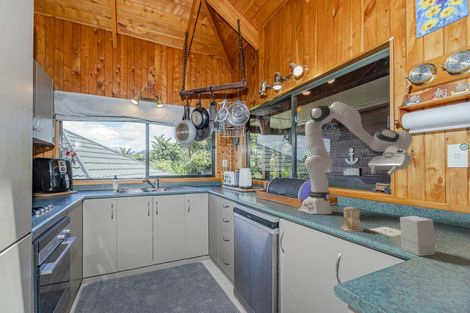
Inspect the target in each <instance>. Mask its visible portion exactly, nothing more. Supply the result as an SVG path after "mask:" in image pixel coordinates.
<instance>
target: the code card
mask: <svg viewBox="0 0 470 313" xmlns="http://www.w3.org/2000/svg"><path fill="white" fill-rule="evenodd" d="M368 230H369V231H373V232H376V233H378V234H383V235H385V236H388V237H397V236H401V229H400V230H399V229H396V228H393V227H387V226H380V227H375V228H368Z"/></svg>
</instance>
